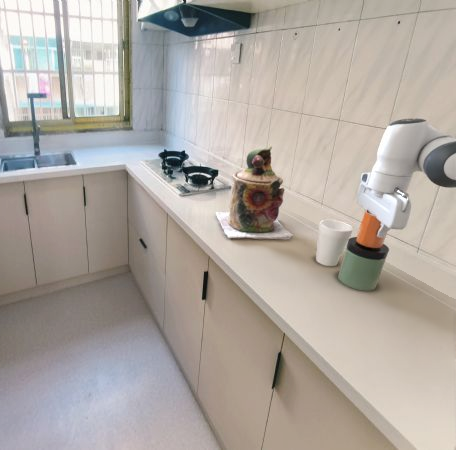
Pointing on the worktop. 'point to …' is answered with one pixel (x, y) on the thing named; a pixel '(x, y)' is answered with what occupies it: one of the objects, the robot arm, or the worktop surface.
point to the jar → (360, 271)
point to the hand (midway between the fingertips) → (372, 230)
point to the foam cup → (332, 241)
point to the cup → (369, 231)
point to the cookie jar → (255, 201)
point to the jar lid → (367, 250)
